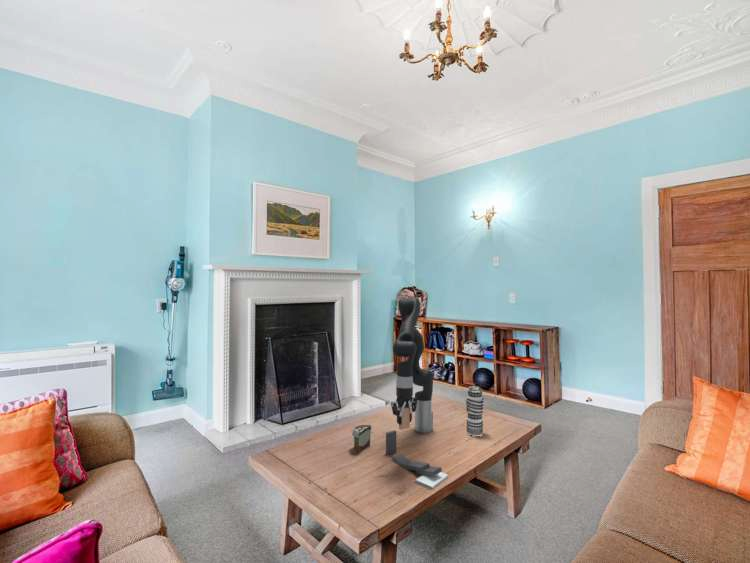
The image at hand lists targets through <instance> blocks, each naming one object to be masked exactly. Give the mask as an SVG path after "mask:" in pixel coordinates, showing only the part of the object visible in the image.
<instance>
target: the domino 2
mask: <svg viewBox="0 0 750 563" xmlns="http://www.w3.org/2000/svg"><path fill="white" fill-rule="evenodd" d="M399 409H401V407H399ZM399 412H400V411H399ZM401 416H402V424H401V425H399V424H398V429H399V430H401V431H402V430H406V429H410V428H411V427H410V426H411V422H410V411H409V408H405V409H404V411H403V412H402V415H401Z"/></svg>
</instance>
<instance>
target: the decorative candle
mask: <svg viewBox="0 0 750 563" xmlns="http://www.w3.org/2000/svg"><path fill="white" fill-rule="evenodd" d="M466 390H467V395H466V396H467V397H466V400H465V404H466V406H465V407H466V412H467V416H466V418H467V419H466V434H467V433H468V434H469V435H468V434H467V435H468V436H470V435H472V436H471V437H473V436H475V435H476V436H477V435H481V434H482V433H484V432H483V431H484V422H483V414H484V411H483V410H484V399H485V398H484V397H483V389H482V388H481V387H480V386H477V385H470V386H469V387H468V388H466Z"/></svg>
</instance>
